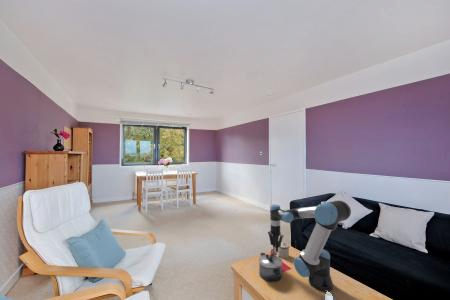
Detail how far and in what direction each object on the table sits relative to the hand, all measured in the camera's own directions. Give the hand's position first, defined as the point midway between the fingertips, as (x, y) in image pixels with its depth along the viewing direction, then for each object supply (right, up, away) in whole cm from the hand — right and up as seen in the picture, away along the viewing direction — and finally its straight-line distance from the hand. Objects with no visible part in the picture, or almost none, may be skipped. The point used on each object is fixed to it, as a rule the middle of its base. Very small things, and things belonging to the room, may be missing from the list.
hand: (275, 254), depth 157 cm
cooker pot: (-7, -9, -8) cm, 14 cm away
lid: (-5, 0, -7) cm, 9 cm away
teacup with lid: (+10, -9, +17) cm, 21 cm away
